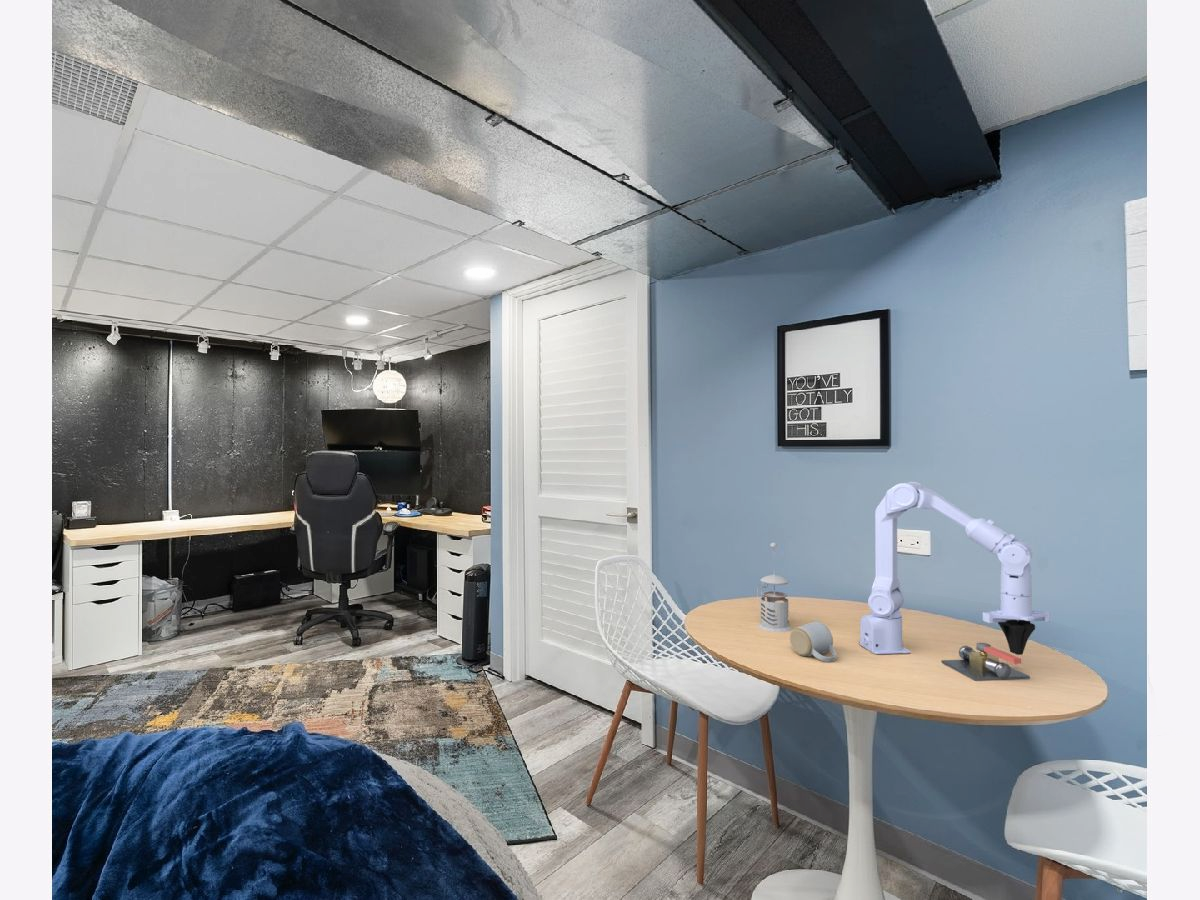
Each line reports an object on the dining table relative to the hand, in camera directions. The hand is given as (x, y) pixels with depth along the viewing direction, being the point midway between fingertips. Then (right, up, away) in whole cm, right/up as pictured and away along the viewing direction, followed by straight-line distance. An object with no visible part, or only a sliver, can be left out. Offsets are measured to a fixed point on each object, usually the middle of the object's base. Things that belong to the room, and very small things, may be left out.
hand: (1016, 653), depth 127 cm
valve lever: (-4, 0, 0) cm, 4 cm away
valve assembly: (-5, -5, +4) cm, 8 cm away
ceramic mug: (-40, -6, +15) cm, 43 cm away
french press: (-44, -6, +39) cm, 59 cm away
